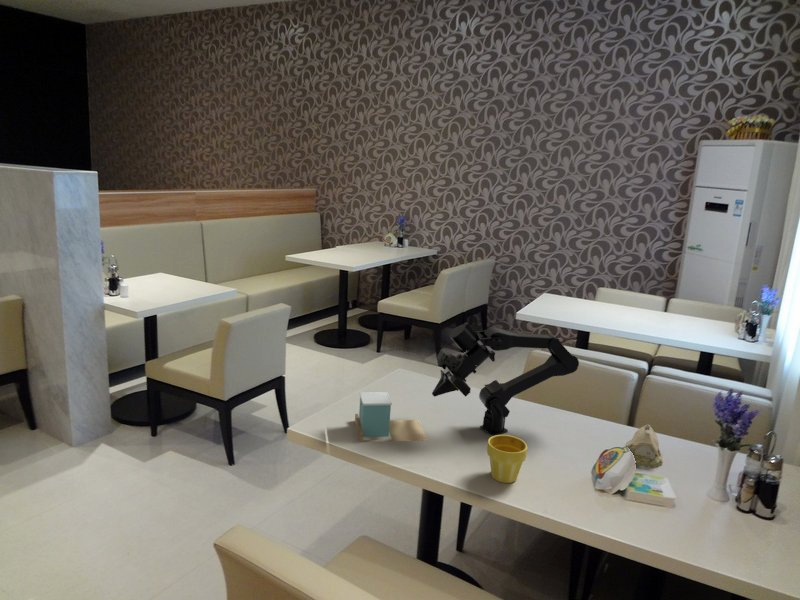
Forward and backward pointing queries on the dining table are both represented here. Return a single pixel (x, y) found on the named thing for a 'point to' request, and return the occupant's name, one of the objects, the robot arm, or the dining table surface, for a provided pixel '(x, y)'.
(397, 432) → the plinth board
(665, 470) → the dining table surface
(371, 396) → the tin
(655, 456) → the ceramic model
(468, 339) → the robot arm
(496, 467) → the plant pot
